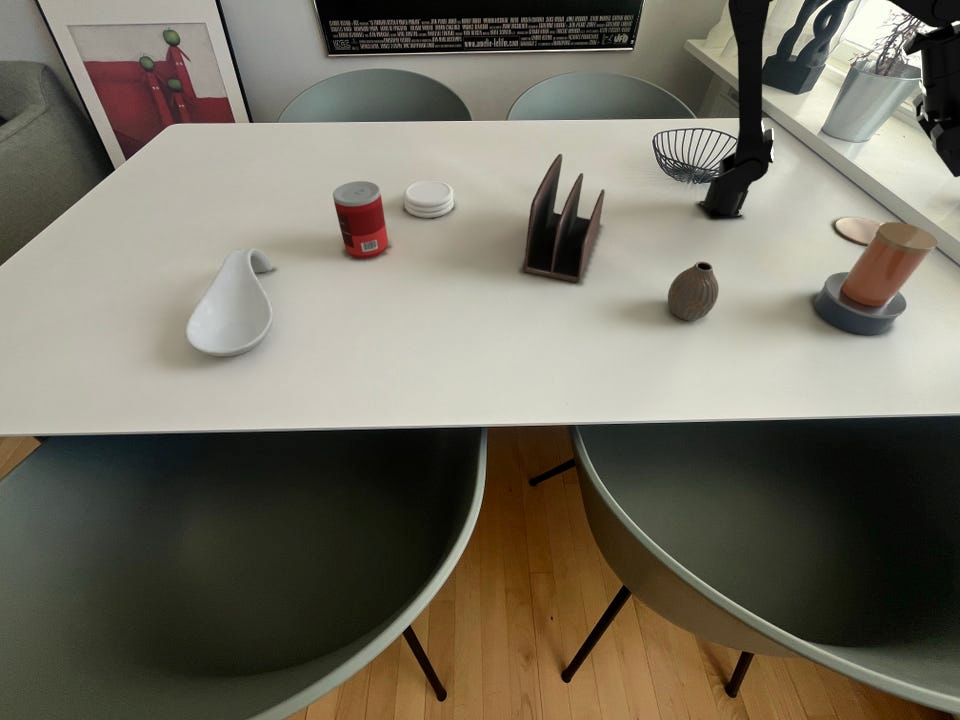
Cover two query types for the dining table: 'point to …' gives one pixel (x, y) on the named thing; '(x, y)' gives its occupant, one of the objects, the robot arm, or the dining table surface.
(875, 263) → the canister
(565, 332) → the dining table surface
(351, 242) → the canned food
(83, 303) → the dining table surface
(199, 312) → the spoon rest
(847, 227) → the mat
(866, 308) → the tin
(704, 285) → the vase
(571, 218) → the letter holder
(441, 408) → the dining table surface
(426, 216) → the coaster
